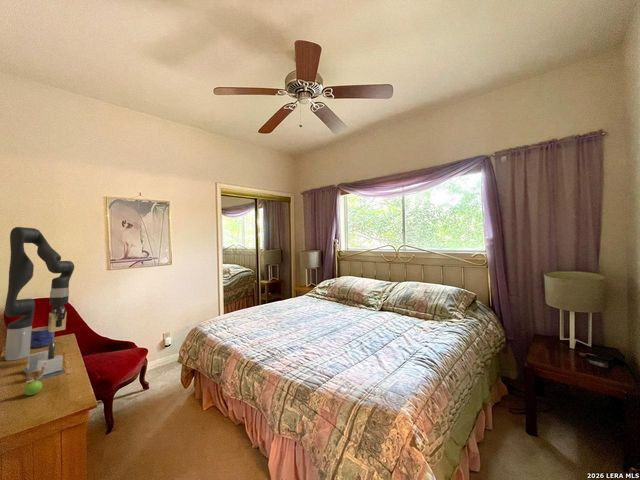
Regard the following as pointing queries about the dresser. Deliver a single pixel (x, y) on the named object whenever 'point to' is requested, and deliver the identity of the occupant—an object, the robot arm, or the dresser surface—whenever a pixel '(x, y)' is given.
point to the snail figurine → (34, 381)
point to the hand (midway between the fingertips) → (57, 326)
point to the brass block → (52, 323)
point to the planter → (41, 337)
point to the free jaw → (51, 361)
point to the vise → (33, 364)
